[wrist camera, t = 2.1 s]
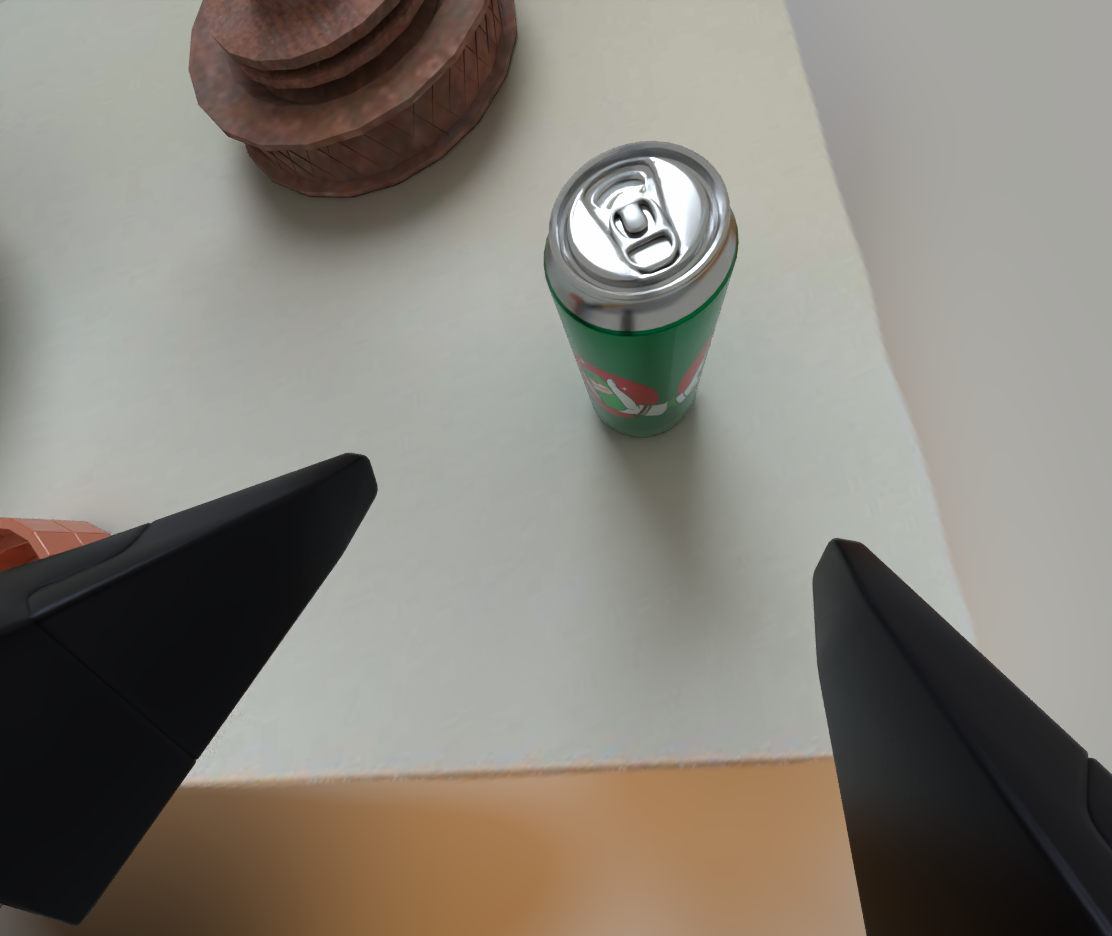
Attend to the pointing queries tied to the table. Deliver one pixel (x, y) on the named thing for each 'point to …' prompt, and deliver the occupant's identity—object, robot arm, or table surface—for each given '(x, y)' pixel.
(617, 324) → the soda can
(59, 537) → the dish
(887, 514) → the table surface
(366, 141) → the rusty bell weight
